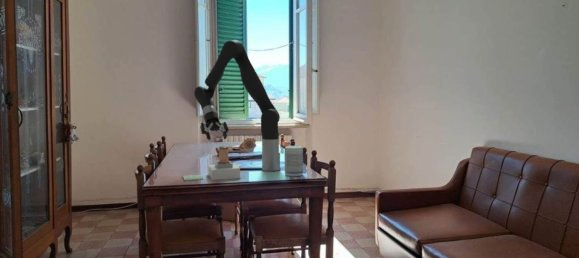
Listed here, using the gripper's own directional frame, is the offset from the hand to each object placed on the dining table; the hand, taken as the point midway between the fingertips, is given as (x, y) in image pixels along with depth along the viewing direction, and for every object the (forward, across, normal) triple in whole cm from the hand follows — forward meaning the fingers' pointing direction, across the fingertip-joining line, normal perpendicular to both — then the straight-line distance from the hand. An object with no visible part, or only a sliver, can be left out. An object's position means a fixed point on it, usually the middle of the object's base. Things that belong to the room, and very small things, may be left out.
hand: (217, 138), depth 222 cm
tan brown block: (+16, 0, +3) cm, 16 cm away
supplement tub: (+29, +33, -3) cm, 44 cm away
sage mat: (+17, -15, +8) cm, 25 cm away
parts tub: (+19, 0, +6) cm, 20 cm away
